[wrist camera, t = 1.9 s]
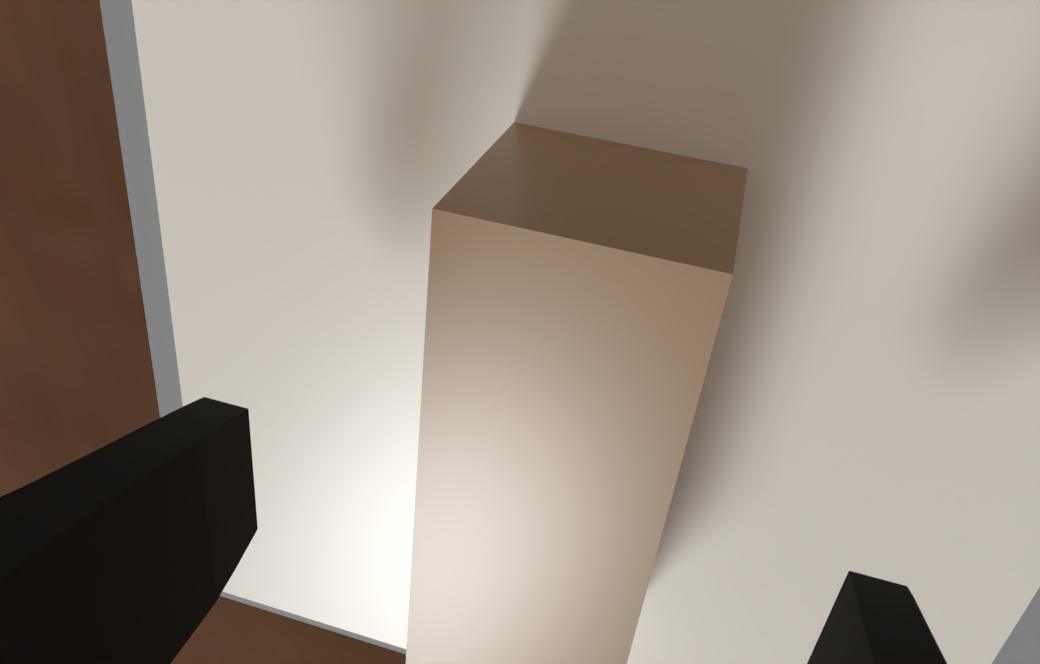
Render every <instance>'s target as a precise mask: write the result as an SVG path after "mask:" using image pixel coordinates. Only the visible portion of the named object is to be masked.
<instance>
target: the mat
mask: <svg viewBox="0 0 1040 664" xmlns="http://www.w3.org/2000/svg"><path fill="white" fill-rule="evenodd" d="M100 6H101V13H102V20H103V27H104V34H105V41H106V48H107V55H108V61H109V68H110V75H111V82H112V89H113V96H114V103H115V110H116V116H117V123H118V130H119V137H120V144H121V151H122V158H123V165H124V172H125V178H126V185H127V192H128V199H129V206H130V213H131V220H132V227H133V234H134V240H135V247H136V254H137V261H138V268H139V275H140V282H141V289H142V296H143V302H144V309H145V316H146V323H147V330H148V337H149V344H150V351H151V357H152V364H153V371H154V378H155V385H156V392H157V399H158V406H159V413H160V418H161V417H163V416H165V415H167V414H169V413H171V412H173V411H175V410H177V409H179V408H181V407H183V404H182V396H181V388H180V380H179V372H178V365H177V357H176V349H175V341H174V333H173V325H172V317H171V309H170V301H169V293H168V285H167V278H166V270H165V262H164V254H163V246H162V238H161V230H160V222H159V214H158V206H157V198H156V191H155V183H154V175H153V167H152V159H151V151H150V143H149V135H148V127H147V119H146V111H145V104H144V96H143V88H142V80H141V72H140V64H139V56H138V48H137V40H136V32H135V25H134V17H133V9H132V1H131V0H100ZM220 596H223V597H226V598H229V599H232V600H235V601H238V602H242V603H245V604H248V605H251V606H254V607H257V608H261V609H264V610H267V611H270V612H273V613H276V614H280V615H283V616H286V617H289V618H292V619H295V620H299V621H302V622H305V623H308V624H311V625H314V626H318V627H321V628H324V629H327V630H330V631H334V632H337V633H340V634H343V635H346V636H349V637H353V638H356V639H359V640H362V641H365V642H368V643H372V644H375V645H378V646H381V647H384V648H387V649H391V650H394V651H397V652H400V653H403V654H406V649H404V648H400V647H397V646H394V645H391V644H388V643H385V642H381V641H378V640H375V639H372V638H369V637H365V636H362V635H359V634H356V633H353V632H350V631H346V630H343V629H340V628H337V627H334V626H330V625H327V624H324V623H321V622H318V621H315V620H311V619H308V618H305V617H302V616H299V615H295V614H292V613H289V612H286V611H283V610H280V609H276V608H273V607H270V606H267V605H264V604H260V603H257V602H254V601H251V600H248V599H245V598H241V597H238V596H235V595H232V594H229V593H225V592H222V593H221V594H220ZM992 664H1040V587H1039V589H1038V591H1037V592H1036V594H1035V595H1034V597H1033V599H1032V600H1031V602H1030V603H1029V605H1028V607H1027V608H1026V610H1025V611H1024V613H1023V615H1022V616H1021V618H1020V619H1019V621H1018V623H1017V624H1016V626H1015V627H1014V629H1013V630H1012V632H1011V634H1010V635H1009V637H1008V638H1007V640H1006V642H1005V643H1004V645H1003V646H1002V648H1001V650H1000V651H999V653H998V654H997V656H996V658H995V659H994V661H993V662H992Z"/></svg>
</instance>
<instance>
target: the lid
mask: <svg viewBox="0 0 1040 664" xmlns="http://www.w3.org/2000/svg"><path fill="white" fill-rule="evenodd" d="M131 1H132V9H133V17H134V25H135V32H136V40H137V48H138V56H139V64H140V72H141V80H142V88H143V96H144V104H145V111H146V119H147V127H148V135H149V143H150V151H151V159H152V167H153V175H154V183H155V191H156V198H157V206H158V214H159V222H160V230H161V238H162V246H163V254H164V262H165V270H166V278H167V285H168V293H169V301H170V309H171V317H172V325H173V333H174V341H175V349H176V357H177V365H178V372H179V380H180V388H181V396H182V404H183V406H185V405H187V404H190V403H192V402H194V401H196V400H198V399H200V398H203V397H206V398H210V399H214V400H218V401H221V402H225V403H229V404H232V405H236V406H240V407H244V408H247V409H248V411H249V424H250V437H251V449H252V462H253V475H254V488H255V501H256V513H257V526H258V529H257V531H256V533H255V535H254V537H253V538H252V540H251V542H250V544H249V546H248V548H247V549H246V551H245V553H244V555H243V557H242V558H241V560H240V562H239V564H238V566H237V567H236V569H235V571H234V573H233V574H232V576H231V578H230V579H229V581H228V583H227V584H226V586H225V588H224V589H223V591H222V592H225V593H229V594H232V595H235V596H238V597H241V598H245V599H248V600H251V601H254V602H257V603H260V604H264V605H267V606H270V607H273V608H276V609H280V610H283V611H286V612H289V613H292V614H295V615H299V616H302V617H305V618H308V619H311V620H315V621H318V622H321V623H324V624H327V625H330V626H334V627H337V628H340V629H343V630H346V631H350V632H353V633H356V634H359V635H362V636H365V637H369V638H372V639H375V640H378V641H381V642H385V643H388V644H391V645H394V646H397V647H400V648H404V649H406V664H807V663H808V660H809V658H810V656H811V654H812V652H813V649H814V647H815V645H816V643H817V640H818V638H819V636H820V634H821V632H822V629H823V627H824V625H825V623H826V620H827V618H828V616H829V614H830V612H831V609H832V607H833V605H834V603H835V600H836V598H837V596H838V594H839V592H840V589H841V587H842V585H843V583H844V580H845V578H846V576H847V574H848V572H849V571H853V572H856V573H860V574H864V575H867V576H871V577H875V578H878V579H882V580H886V581H890V582H893V583H897V584H901V585H904V586H907V587H908V588H909V590H910V592H911V593H912V595H913V596H914V598H915V600H916V602H917V604H918V606H919V608H920V610H921V612H922V614H923V616H924V618H925V620H926V622H927V624H928V626H929V628H930V630H931V632H932V634H933V636H934V638H935V640H936V642H937V644H938V646H939V648H940V650H941V652H942V654H943V656H944V658H945V660H946V662H947V664H992V662H993V661H994V659H995V658H996V656H997V654H998V653H999V651H1000V650H1001V648H1002V646H1003V645H1004V643H1005V642H1006V640H1007V638H1008V637H1009V635H1010V634H1011V632H1012V630H1013V629H1014V627H1015V626H1016V624H1017V623H1018V621H1019V619H1020V618H1021V616H1022V615H1023V613H1024V611H1025V610H1026V608H1027V607H1028V605H1029V603H1030V602H1031V600H1032V599H1033V597H1034V595H1035V594H1036V592H1037V591H1038V589H1039V587H1040V0H131Z"/></svg>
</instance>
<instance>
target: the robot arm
mask: <svg viewBox="0 0 1040 664" xmlns="http://www.w3.org/2000/svg"><path fill="white" fill-rule="evenodd" d="M257 529H258V526H257V513H256V501H255V488H254V475H253V462H252V449H251V437H250V424H249V411H248V409H247V408H244V407H240V406H236V405H232V404H229V403H225V402H221V401H218V400H214V399H210V398H206V397H203V398H200V399H198V400H196V401H194V402H192V403H190V404H187V405H185V406H183V407H181V408H179V409H177V410H175V411H173V412H171V413H169V414H167V415H165V416H163V417H161V418H159V419H157V420H155V421H153V422H151V423H149V424H147V425H145V426H143V427H141V428H139V429H137V430H135V431H133V432H132V433H130V434H128V435H126V436H124V437H122V438H120V439H118V440H116V441H114V442H112V443H110V444H108V445H106V446H104V447H102V448H100V449H98V450H96V451H94V452H92V453H90V454H88V455H86V456H84V457H82V458H80V459H78V460H76V461H74V462H72V463H70V464H68V465H66V466H64V467H62V468H60V469H58V470H56V471H54V472H52V473H50V474H48V475H46V476H44V477H42V478H40V479H38V480H36V481H34V482H32V483H30V484H28V485H26V486H24V487H22V488H19V489H17V490H15V491H13V492H11V493H8V494H6V495H4V496H2V497H0V664H170V663H171V662H172V660H173V659H174V658H175V656H176V655H177V654H178V652H179V651H180V650H181V648H182V647H183V646H184V644H185V643H186V642H187V640H188V639H189V638H190V636H191V635H192V634H193V632H194V631H195V630H196V628H197V627H198V626H199V624H200V623H201V622H202V620H203V619H204V618H205V616H206V615H207V613H208V612H209V611H210V609H211V608H212V606H213V605H214V604H215V602H216V601H217V599H218V598H219V596H220V594H221V593H222V591H223V589H224V588H225V586H226V584H227V583H228V581H229V579H230V578H231V576H232V574H233V573H234V571H235V569H236V567H237V566H238V564H239V562H240V560H241V558H242V557H243V555H244V553H245V551H246V549H247V548H248V546H249V544H250V542H251V540H252V538H253V537H254V535H255V533H256V531H257ZM807 664H947V662H946V660H945V658H944V656H943V654H942V652H941V650H940V648H939V646H938V644H937V642H936V640H935V638H934V636H933V634H932V632H931V630H930V628H929V626H928V624H927V622H926V620H925V618H924V616H923V614H922V612H921V610H920V608H919V606H918V604H917V602H916V600H915V598H914V596H913V595H912V593H911V592H910V590H909V588H908V587H907V586H904V585H901V584H897V583H893V582H890V581H886V580H882V579H878V578H875V577H871V576H867V575H864V574H860V573H856V572H853V571H849V572H848V574H847V576H846V578H845V580H844V583H843V585H842V587H841V589H840V592H839V594H838V596H837V598H836V600H835V603H834V605H833V607H832V609H831V612H830V614H829V616H828V618H827V620H826V623H825V625H824V627H823V629H822V632H821V634H820V636H819V638H818V640H817V643H816V645H815V647H814V649H813V652H812V654H811V656H810V658H809V660H808V663H807Z"/></svg>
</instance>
